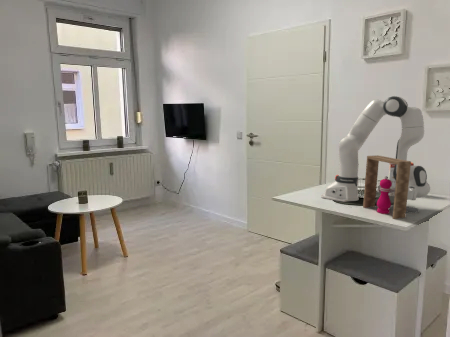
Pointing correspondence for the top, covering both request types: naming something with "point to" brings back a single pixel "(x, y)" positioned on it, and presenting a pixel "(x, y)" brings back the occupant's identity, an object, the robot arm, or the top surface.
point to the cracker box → (390, 175)
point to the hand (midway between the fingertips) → (383, 192)
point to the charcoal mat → (411, 209)
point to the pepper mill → (384, 196)
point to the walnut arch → (400, 187)
